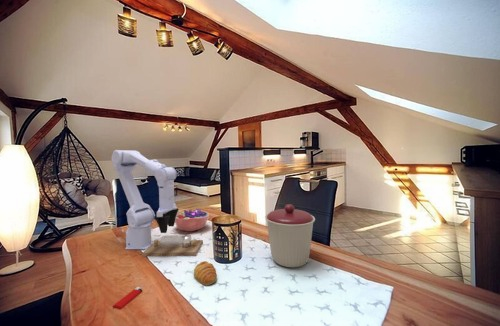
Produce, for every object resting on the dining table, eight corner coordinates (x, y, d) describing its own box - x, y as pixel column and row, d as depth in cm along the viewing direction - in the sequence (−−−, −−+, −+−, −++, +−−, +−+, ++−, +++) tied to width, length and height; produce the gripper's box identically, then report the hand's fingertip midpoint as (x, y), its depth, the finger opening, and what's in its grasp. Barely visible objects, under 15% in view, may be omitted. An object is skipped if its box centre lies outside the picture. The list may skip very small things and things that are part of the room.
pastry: (222, 282, 65) (221, 270, 65) (201, 290, 61) (200, 277, 61) (210, 268, 73) (210, 258, 73) (191, 275, 69) (191, 263, 69)
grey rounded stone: (159, 248, 86) (159, 238, 86) (164, 244, 90) (163, 234, 90) (189, 247, 86) (189, 238, 86) (192, 243, 90) (192, 234, 90)
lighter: (112, 304, 54) (136, 286, 62) (112, 309, 54) (136, 290, 62) (120, 306, 54) (144, 287, 61) (121, 311, 54) (144, 291, 61)
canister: (314, 278, 66) (314, 212, 65) (259, 269, 72) (259, 208, 71) (315, 253, 83) (315, 200, 82) (271, 247, 89) (271, 198, 88)
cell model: (180, 224, 122) (180, 204, 121) (213, 224, 119) (213, 205, 119) (166, 235, 105) (165, 212, 104) (204, 236, 103) (204, 213, 102)
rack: (142, 256, 82) (142, 246, 82) (156, 243, 94) (156, 234, 94) (195, 256, 82) (195, 246, 82) (202, 243, 94) (202, 234, 94)
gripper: (169, 200, 78) (170, 235, 79) (182, 193, 93) (183, 223, 93) (150, 200, 78) (151, 236, 79) (166, 193, 93) (167, 223, 93)
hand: (167, 229), depth 86 cm, fingers open, 7 cm apart
